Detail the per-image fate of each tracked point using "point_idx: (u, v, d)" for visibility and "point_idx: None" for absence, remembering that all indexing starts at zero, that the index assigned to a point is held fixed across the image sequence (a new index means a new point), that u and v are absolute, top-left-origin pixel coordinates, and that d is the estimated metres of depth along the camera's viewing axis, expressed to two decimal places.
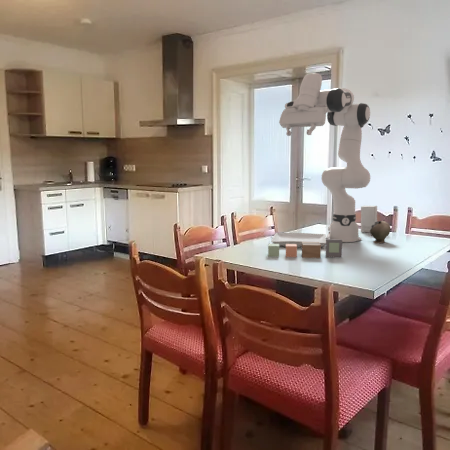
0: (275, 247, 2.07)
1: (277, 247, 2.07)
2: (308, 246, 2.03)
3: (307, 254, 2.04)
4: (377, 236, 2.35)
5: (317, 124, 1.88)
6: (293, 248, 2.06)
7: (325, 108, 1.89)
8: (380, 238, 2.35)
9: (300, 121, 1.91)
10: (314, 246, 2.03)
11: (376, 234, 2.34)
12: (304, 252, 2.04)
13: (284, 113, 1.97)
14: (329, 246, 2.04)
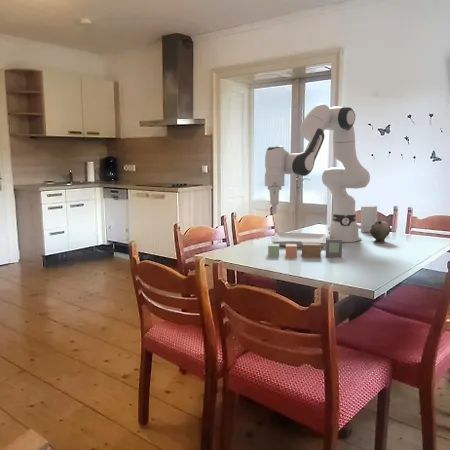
0: (275, 247, 2.07)
1: (277, 247, 2.07)
2: (308, 246, 2.03)
3: (307, 254, 2.04)
4: (377, 236, 2.35)
5: (274, 204, 1.98)
6: (293, 248, 2.06)
7: (273, 187, 1.95)
8: (380, 238, 2.35)
9: None
10: (314, 246, 2.03)
11: (376, 234, 2.34)
12: (304, 252, 2.04)
13: (269, 190, 2.13)
14: (329, 246, 2.04)
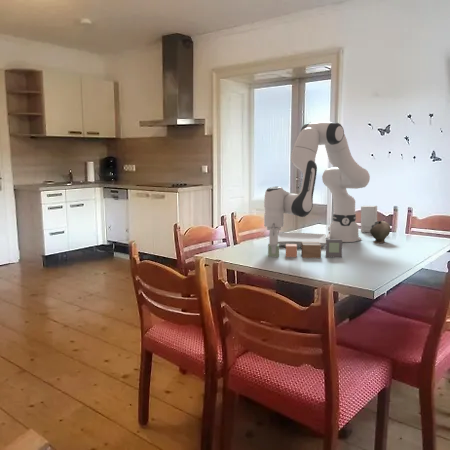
0: None
1: (277, 247, 2.07)
2: (308, 246, 2.03)
3: (307, 254, 2.04)
4: (377, 236, 2.35)
5: None
6: (293, 248, 2.06)
7: (272, 230, 1.98)
8: (380, 238, 2.35)
9: None
10: (314, 246, 2.03)
11: (376, 234, 2.34)
12: (304, 252, 2.04)
13: None
14: (329, 246, 2.04)
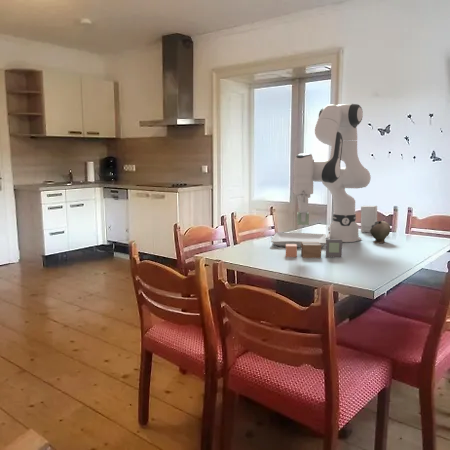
0: None
1: (307, 215, 2.03)
2: (309, 246, 2.03)
3: (307, 254, 2.04)
4: (377, 236, 2.35)
5: None
6: (293, 248, 2.06)
7: (303, 196, 1.95)
8: (380, 238, 2.35)
9: None
10: (315, 246, 2.03)
11: (376, 234, 2.34)
12: (305, 252, 2.04)
13: None
14: (329, 246, 2.04)
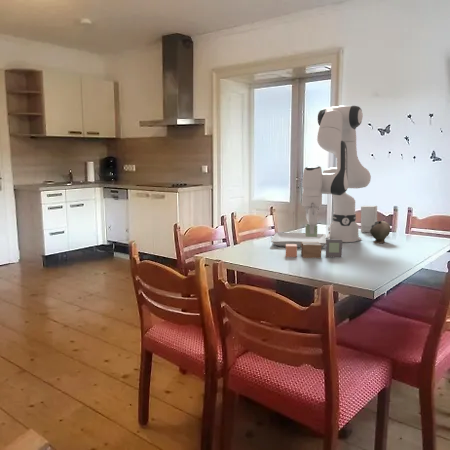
0: None
1: (315, 227, 2.03)
2: (309, 246, 2.03)
3: (307, 254, 2.04)
4: (377, 236, 2.35)
5: None
6: (293, 248, 2.06)
7: (312, 208, 1.95)
8: (380, 238, 2.35)
9: (307, 220, 2.05)
10: (315, 246, 2.03)
11: (376, 234, 2.34)
12: (305, 252, 2.04)
13: None
14: (329, 246, 2.04)
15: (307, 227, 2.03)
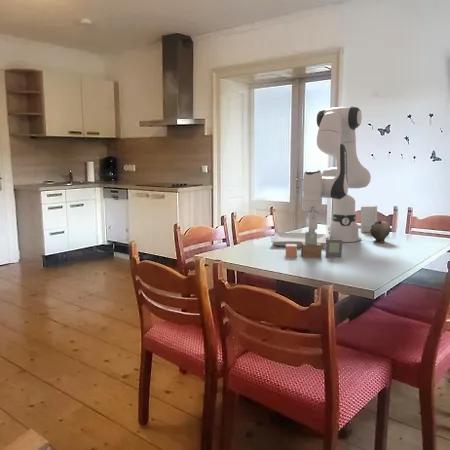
0: None
1: (315, 235, 2.04)
2: (309, 246, 2.03)
3: (308, 254, 2.04)
4: (377, 236, 2.35)
5: None
6: (293, 248, 2.06)
7: (312, 213, 1.95)
8: (380, 238, 2.35)
9: (307, 224, 2.05)
10: (315, 246, 2.03)
11: (376, 234, 2.34)
12: (305, 252, 2.04)
13: None
14: (329, 246, 2.04)
15: (307, 235, 2.04)
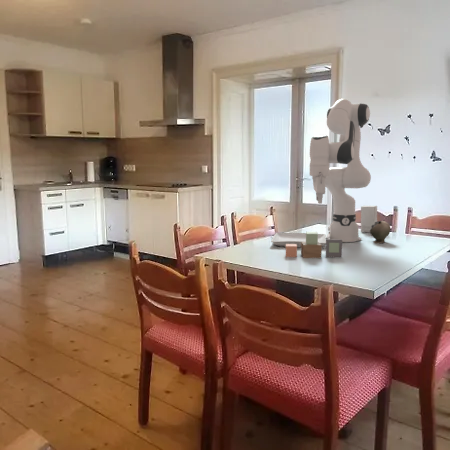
0: (314, 235, 2.04)
1: (316, 235, 2.04)
2: (309, 246, 2.03)
3: (308, 254, 2.04)
4: (377, 236, 2.35)
5: (320, 193, 1.99)
6: (293, 248, 2.06)
7: (320, 177, 1.96)
8: (380, 238, 2.35)
9: (315, 190, 2.06)
10: (315, 246, 2.03)
11: (376, 234, 2.34)
12: (305, 252, 2.04)
13: (313, 179, 2.14)
14: (329, 246, 2.04)
15: (307, 235, 2.04)
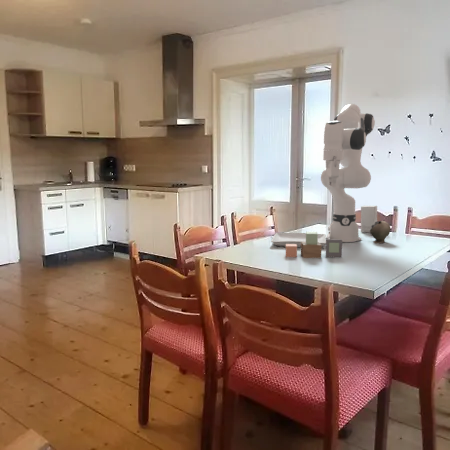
0: (313, 235, 2.04)
1: (315, 235, 2.04)
2: (309, 246, 2.03)
3: (307, 254, 2.04)
4: (377, 236, 2.35)
5: (334, 177, 2.04)
6: (293, 248, 2.06)
7: (334, 161, 2.00)
8: (380, 238, 2.35)
9: (328, 175, 2.11)
10: (315, 246, 2.03)
11: (376, 234, 2.34)
12: (305, 252, 2.04)
13: (326, 165, 2.18)
14: (329, 246, 2.04)
15: (307, 235, 2.04)
